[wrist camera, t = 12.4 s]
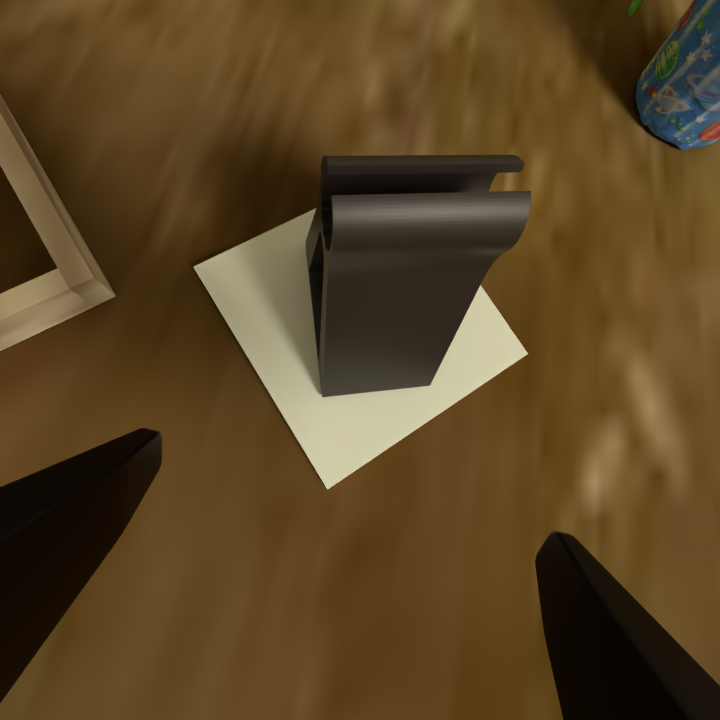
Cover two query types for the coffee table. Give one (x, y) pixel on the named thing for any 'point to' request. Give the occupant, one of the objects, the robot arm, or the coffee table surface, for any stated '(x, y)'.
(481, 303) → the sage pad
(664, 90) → the snack cup
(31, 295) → the birch pocket
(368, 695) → the coffee table surface
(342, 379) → the phone stand
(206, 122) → the coffee table surface
